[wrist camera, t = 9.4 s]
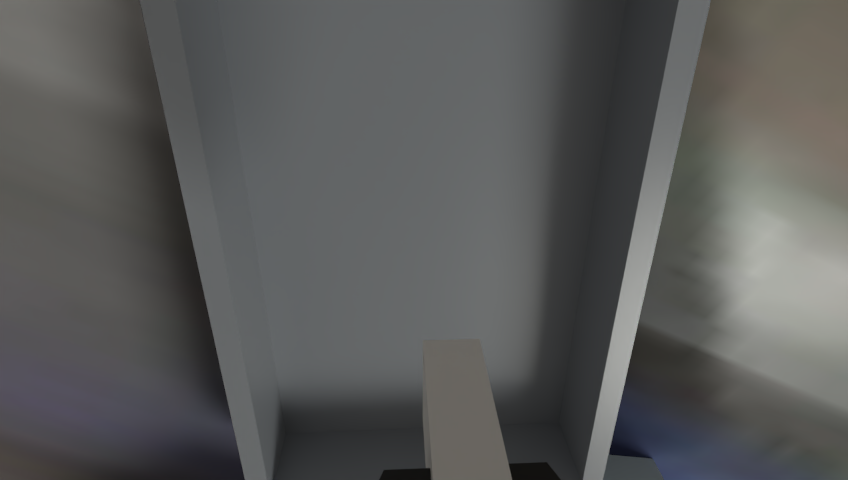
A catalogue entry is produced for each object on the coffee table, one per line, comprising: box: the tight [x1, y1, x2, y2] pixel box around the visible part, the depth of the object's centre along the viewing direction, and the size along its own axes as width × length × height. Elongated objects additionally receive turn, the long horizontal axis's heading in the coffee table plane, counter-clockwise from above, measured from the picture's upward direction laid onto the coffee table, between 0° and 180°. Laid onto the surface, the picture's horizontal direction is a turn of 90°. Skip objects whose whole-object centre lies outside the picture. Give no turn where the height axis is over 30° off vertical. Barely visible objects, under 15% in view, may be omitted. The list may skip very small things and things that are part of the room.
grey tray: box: [140, 0, 711, 480], centre depth 22 cm, size 17×26×4 cm, turn 0°
